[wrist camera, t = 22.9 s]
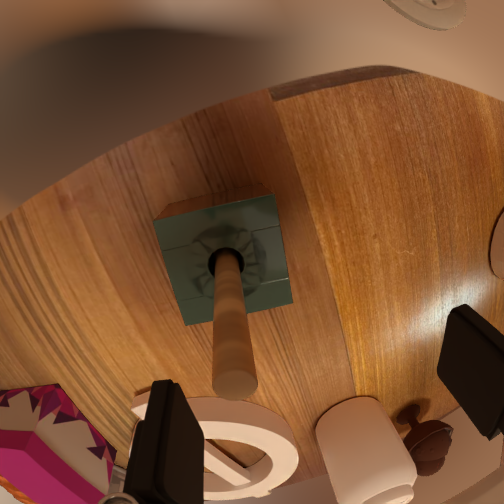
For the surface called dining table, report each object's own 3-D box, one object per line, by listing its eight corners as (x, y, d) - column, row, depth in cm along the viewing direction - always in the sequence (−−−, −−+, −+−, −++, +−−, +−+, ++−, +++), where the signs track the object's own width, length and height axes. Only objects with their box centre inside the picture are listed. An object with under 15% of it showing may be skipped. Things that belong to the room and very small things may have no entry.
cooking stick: (214, 233, 33) (206, 374, 12) (232, 229, 33) (253, 365, 12) (218, 250, 33) (218, 404, 13) (236, 247, 34) (261, 397, 13)
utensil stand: (168, 203, 31) (152, 221, 24) (261, 182, 32) (274, 193, 24) (192, 288, 35) (185, 326, 27) (277, 270, 35) (293, 303, 27)
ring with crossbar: (134, 380, 38) (128, 403, 34) (317, 406, 43) (325, 427, 39) (134, 469, 46) (130, 487, 42) (266, 485, 51) (269, 502, 47)
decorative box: (-2, 389, 38) (-34, 440, 24) (58, 381, 38) (23, 450, 24) (53, 451, 44) (35, 502, 30) (119, 451, 44) (105, 515, 30)
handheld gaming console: (99, 474, 47) (91, 508, 38) (113, 463, 46) (104, 501, 36) (150, 495, 51) (146, 529, 42) (168, 485, 49) (165, 522, 40)
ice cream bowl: (420, 423, 50) (450, 472, 36) (377, 436, 49) (404, 492, 35) (438, 389, 47) (476, 439, 32) (392, 402, 46) (428, 462, 31)
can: (334, 447, 48) (365, 530, 29) (300, 424, 44) (329, 526, 26) (390, 412, 47) (435, 492, 28) (364, 383, 43) (417, 481, 24)
